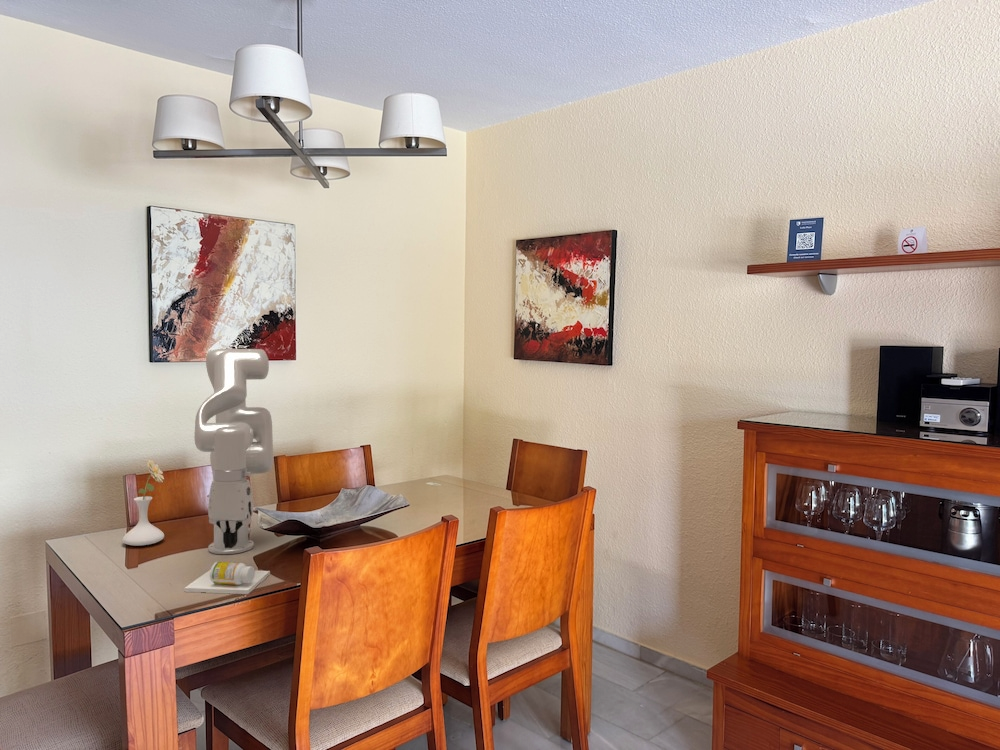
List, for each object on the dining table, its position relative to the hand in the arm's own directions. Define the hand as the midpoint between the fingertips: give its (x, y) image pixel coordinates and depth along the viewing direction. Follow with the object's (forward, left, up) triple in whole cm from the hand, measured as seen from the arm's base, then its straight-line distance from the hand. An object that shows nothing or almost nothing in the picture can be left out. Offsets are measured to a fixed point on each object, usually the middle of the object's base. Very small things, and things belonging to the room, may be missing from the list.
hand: (230, 546), depth 176 cm
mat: (0, -1, -10) cm, 10 cm away
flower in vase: (-31, -41, -10) cm, 52 cm away
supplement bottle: (+3, -3, -6) cm, 7 cm away
